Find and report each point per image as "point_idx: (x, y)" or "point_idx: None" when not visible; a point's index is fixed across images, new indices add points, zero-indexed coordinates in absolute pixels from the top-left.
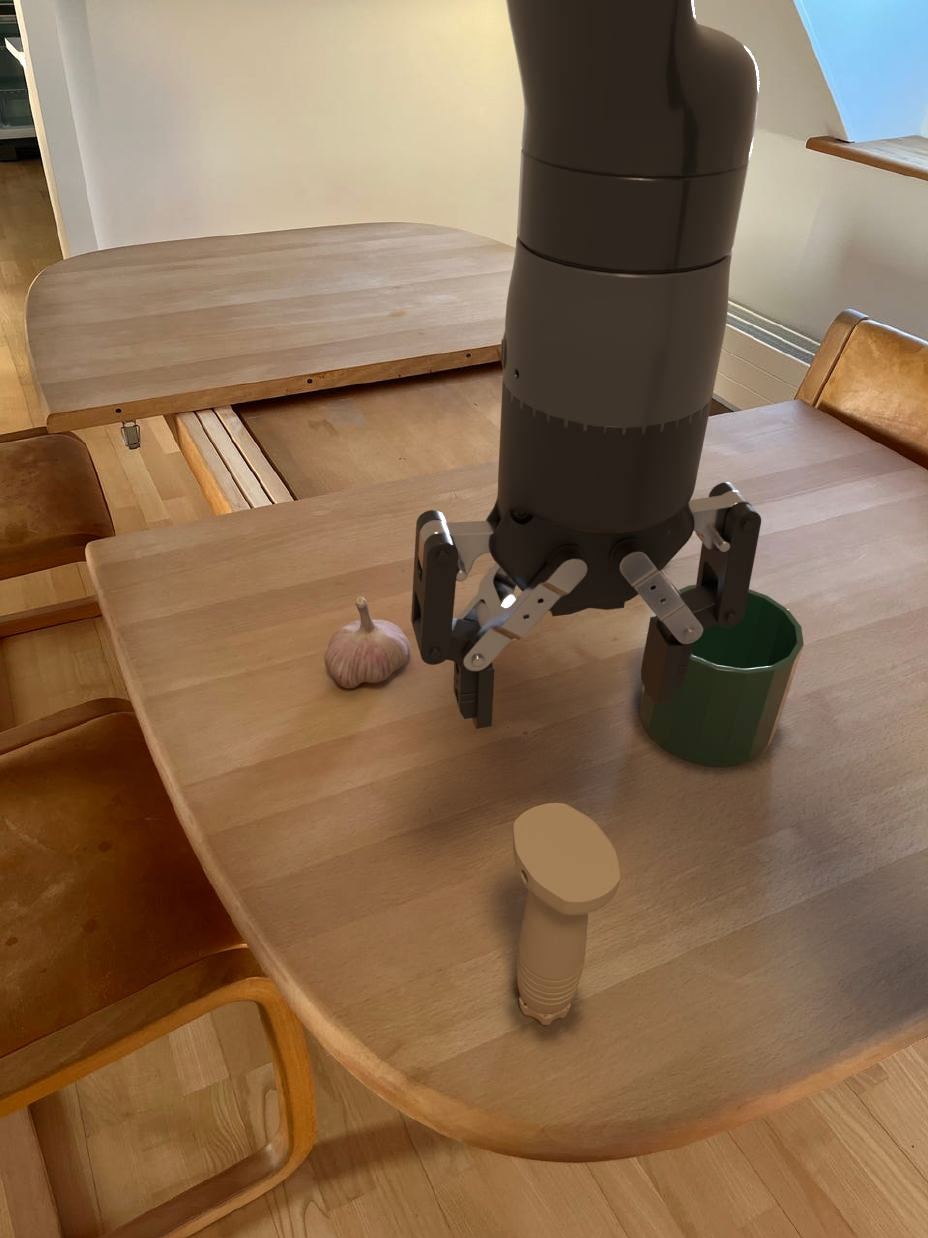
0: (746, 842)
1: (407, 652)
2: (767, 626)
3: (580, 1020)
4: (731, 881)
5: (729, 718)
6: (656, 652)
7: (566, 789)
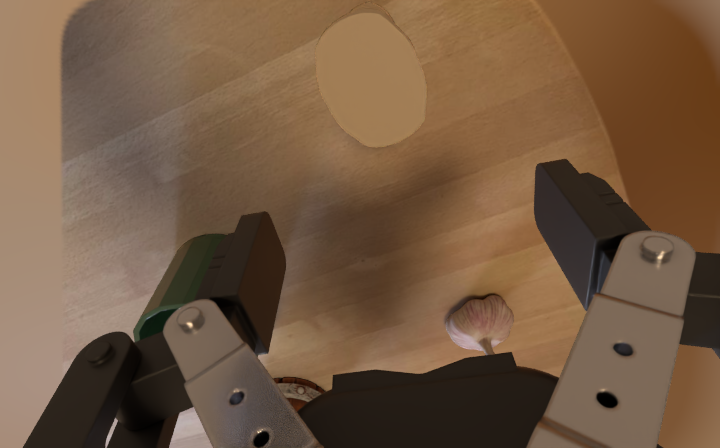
0: (197, 170)
1: (449, 323)
2: None
3: (339, 8)
4: (210, 136)
5: (203, 267)
6: (260, 289)
7: (335, 214)
